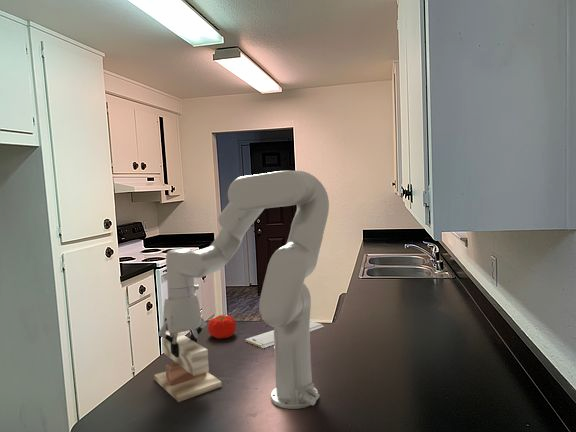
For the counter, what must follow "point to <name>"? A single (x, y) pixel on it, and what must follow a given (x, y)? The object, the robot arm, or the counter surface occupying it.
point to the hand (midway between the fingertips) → (184, 352)
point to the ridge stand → (185, 382)
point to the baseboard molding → (268, 337)
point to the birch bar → (188, 354)
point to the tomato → (222, 326)
